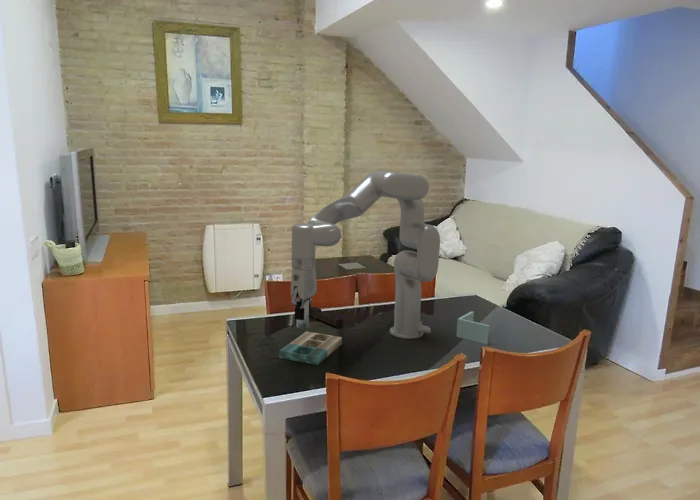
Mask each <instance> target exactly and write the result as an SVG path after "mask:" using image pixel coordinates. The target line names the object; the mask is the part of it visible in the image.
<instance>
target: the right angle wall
mask: <svg viewBox="0 0 700 500" xmlns="http://www.w3.org/2000/svg"><path fill="white" fill-rule="evenodd" d="M474 317H475V311H472V310H471V311H469V312H467V313H466V314H464V315H462V316H460V317H458V318H457V321H456V322H457V323H456V335H455V336H456V337H457V338H459V339H460V338H461V339H464V340H467V341H472V342H476V343H480V344H483V345H488V344H489V335H490V334H489V333H490V324H485V323H481V322H477V321H474Z"/></svg>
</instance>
